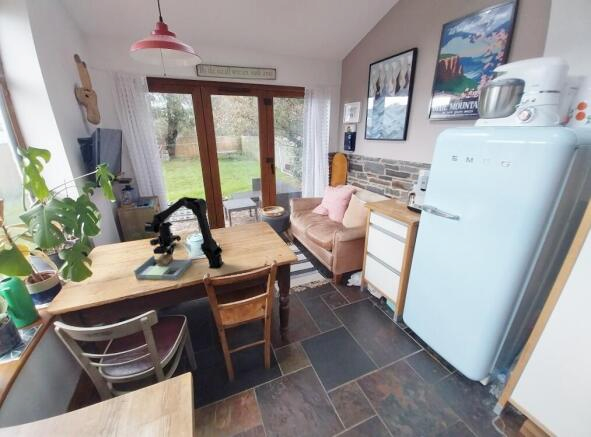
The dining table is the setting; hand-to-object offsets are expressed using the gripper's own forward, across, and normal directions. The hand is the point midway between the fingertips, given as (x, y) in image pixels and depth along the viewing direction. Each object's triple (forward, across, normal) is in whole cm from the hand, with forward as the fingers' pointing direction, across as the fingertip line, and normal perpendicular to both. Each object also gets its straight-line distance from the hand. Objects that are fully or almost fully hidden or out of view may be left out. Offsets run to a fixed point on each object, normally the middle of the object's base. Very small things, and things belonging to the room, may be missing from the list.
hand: (170, 257), depth 144 cm
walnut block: (+1, +5, 0) cm, 5 cm away
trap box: (+4, +9, +2) cm, 10 cm away
